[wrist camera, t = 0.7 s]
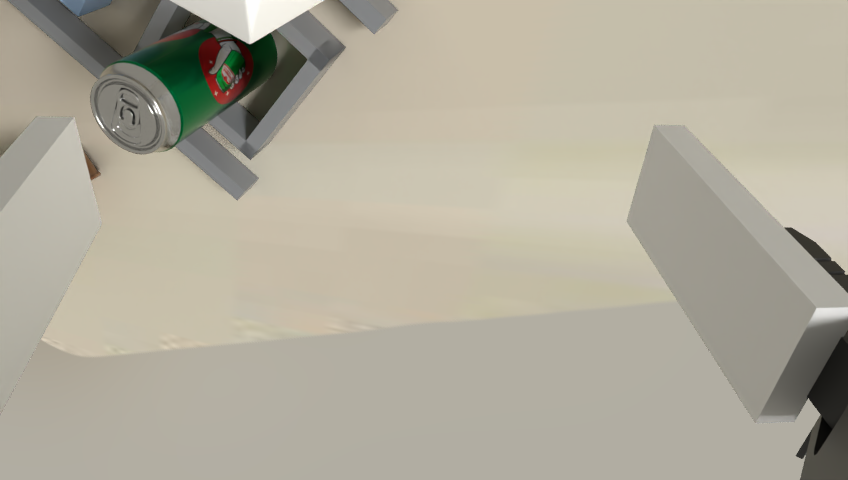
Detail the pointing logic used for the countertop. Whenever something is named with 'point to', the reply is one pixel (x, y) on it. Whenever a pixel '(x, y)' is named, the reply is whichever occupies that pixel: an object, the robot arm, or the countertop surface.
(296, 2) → the milk
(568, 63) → the countertop surface
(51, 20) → the grey railed frame
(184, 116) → the soda can
